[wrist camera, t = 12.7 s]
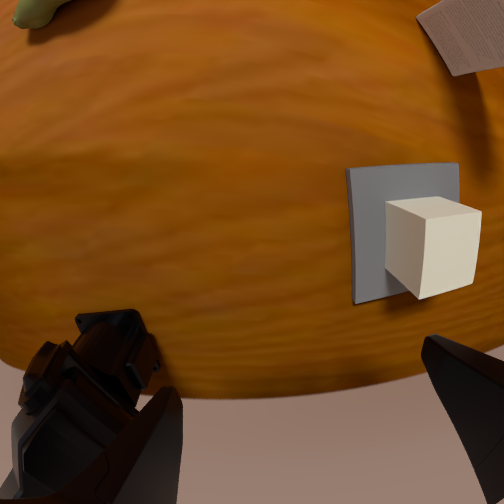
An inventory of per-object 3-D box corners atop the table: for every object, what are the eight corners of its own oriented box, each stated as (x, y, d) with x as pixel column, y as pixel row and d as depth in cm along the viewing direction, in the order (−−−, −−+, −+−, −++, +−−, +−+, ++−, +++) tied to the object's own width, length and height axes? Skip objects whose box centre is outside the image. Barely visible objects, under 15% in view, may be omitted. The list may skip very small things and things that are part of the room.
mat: (351, 298, 21) (355, 303, 20) (345, 168, 18) (349, 169, 17) (448, 274, 21) (452, 278, 20) (452, 162, 18) (458, 163, 17)
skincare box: (474, 66, 14) (573, 54, 3) (451, 77, 15) (563, 63, 4) (439, 9, 12) (527, -29, 1) (412, 15, 13) (508, -34, 2)
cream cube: (384, 267, 19) (418, 299, 15) (385, 201, 18) (425, 219, 13) (435, 257, 19) (472, 283, 15) (438, 196, 18) (481, 211, 13)
